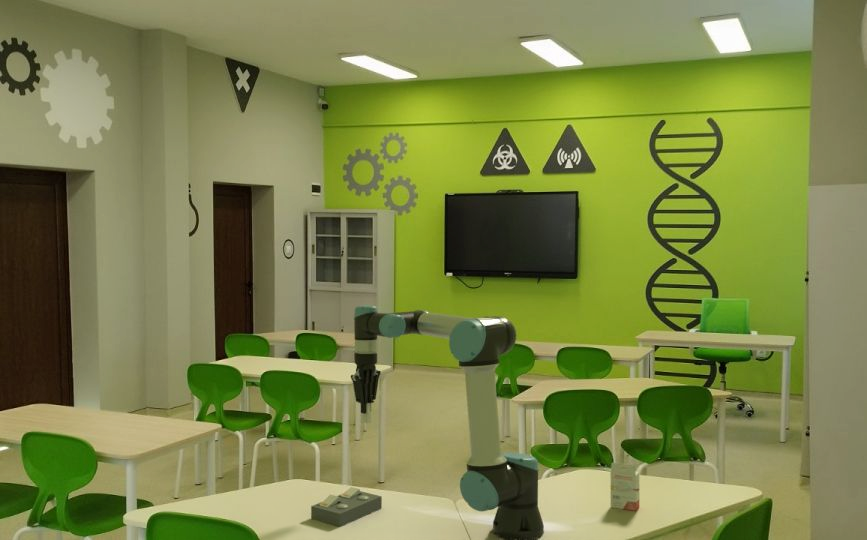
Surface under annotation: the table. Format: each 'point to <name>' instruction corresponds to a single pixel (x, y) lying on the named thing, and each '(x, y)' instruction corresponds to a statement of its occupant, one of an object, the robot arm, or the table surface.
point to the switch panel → (347, 509)
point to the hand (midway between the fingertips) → (366, 422)
